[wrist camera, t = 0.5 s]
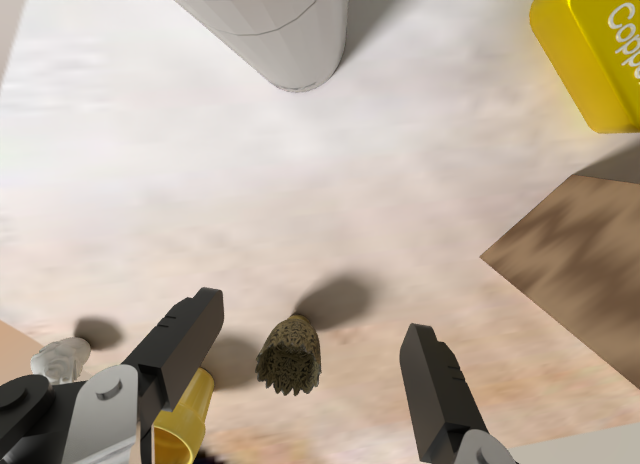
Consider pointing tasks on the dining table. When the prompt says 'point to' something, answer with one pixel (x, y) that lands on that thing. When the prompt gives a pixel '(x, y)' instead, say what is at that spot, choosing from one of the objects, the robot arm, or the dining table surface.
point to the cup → (290, 357)
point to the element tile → (595, 57)
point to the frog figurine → (61, 360)
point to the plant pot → (184, 423)
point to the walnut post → (582, 265)
